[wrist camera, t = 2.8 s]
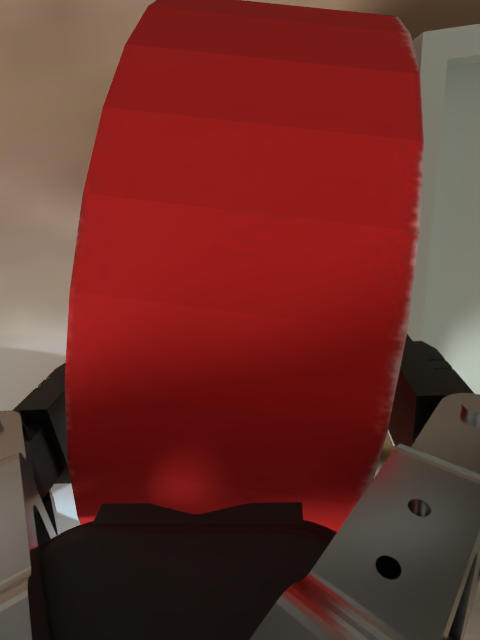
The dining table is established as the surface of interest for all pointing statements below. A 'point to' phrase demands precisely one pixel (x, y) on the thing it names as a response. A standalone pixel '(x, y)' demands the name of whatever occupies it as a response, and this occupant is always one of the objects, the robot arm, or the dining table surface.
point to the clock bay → (449, 201)
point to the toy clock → (245, 260)
